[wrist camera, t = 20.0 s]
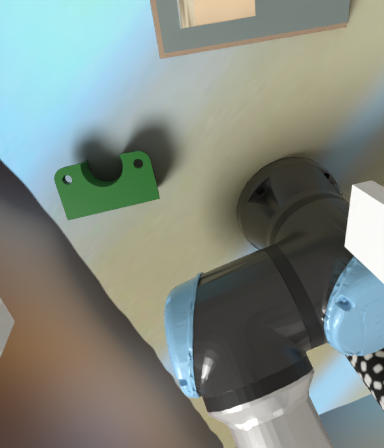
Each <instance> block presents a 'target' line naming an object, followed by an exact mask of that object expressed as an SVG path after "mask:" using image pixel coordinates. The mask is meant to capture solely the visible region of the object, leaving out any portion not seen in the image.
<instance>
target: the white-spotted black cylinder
mask: <svg viewBox="0 0 384 448" xmlns="http://www.w3.org/2000/svg"><path fill="white" fill-rule="evenodd" d="M345 356H346V357H347V359H348V360H349V361H350V363H351V364H352V366H353V367H354V369H355V370H356V372H357V373H358V374H359V376H360V377H361V379H362V380H363V382H364V383H365V384H366V386H367V387H368V389H369V390H370V392H371V393H372V395H373V396H374V397H375V399H376V400H377V402H378V403H379V404H380V406H381V408H382V409H383V410H384V348H383V349H381V350H379V351H376V352H374V353H371V354H368V355H364V356H357V355H355V354H354V355H353V356H348V355H345Z"/></svg>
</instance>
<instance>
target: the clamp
mask: <svg viewBox="0 0 384 448" xmlns="http://www.w3.org/2000/svg"><path fill="white" fill-rule="evenodd" d="M119 156H120V158H121V160H122V164H123V171H122V175H121V176H120V177H119V178H118V179H116V180H114V181H102V180H99V179H97V178H96V177H95V176H94V175H93V174H92V173H91V172H90V170H89V167H88V161H84V162H82V163H79V164H76V165H71V166H67V167H64V168H61V169H59V170H58V171H57V172H56V174H55V178H54V179H55V184H56V187H57V190H58V193H59V195H60V198H61V201H62V204H63V207H64V210H65V213H66V216H67V219H68V220H71V219H75V218H80V217H84V216H88V215H92V214H97V213H101V212H105V211H110V210H114V209H118V208H122V207H127V206H131V205H135V204H139V203H144V202H148V201H152V200H156V199H160V197H159V191H158V187H157V183H156V179H155V176H154V172H153V168H152V164H151V160H150V157H149V156H148V155H147V154H146V153H145V152H143V151H134V152H129V153H127V152H125V153H122V154H120V155H119ZM136 159H141V160H142V161H143V165H142V166H141V167H136V166H135V165H134V161H135V160H136ZM66 175H69V176H71V178H72V183H69V182H67V181H66V179H65V176H66Z"/></svg>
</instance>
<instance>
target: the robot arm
mask: <svg viewBox="0 0 384 448" xmlns="http://www.w3.org/2000/svg"><path fill="white" fill-rule="evenodd" d="M237 219H238V223H239V226H240V228H241V230H242V232H243V234H244V235H245V237H246V238H247V240H248V241H249V242H250V243H251V244H252V245H253V246H254V247H255V248H257V249H259V250H258V251H256V252H253V253H251V254H249V255H246V256H244V257H242V258H239V259H237V260H235V261H232V262H230V263H227V264H225V265H223V266H220V267H218V268H216V269H213V270H211V271H208V272H206V273H199V274H198V275H197V276H196V277H195V278H193V279H191V280H189V281H187V282H185V283H182V284H180V285H178V286H176V287H175V288H173V289H172V290H171V292H170V293H169V295H168V296H167V299H166V303H165V311H164V321H165V333H166V340H167V345H168V350H169V355H170V359H171V363H172V367H173V370H174V373H175V375H176V378H178V380H179V384H180V387H181V389H182V391H183V393H184V394H185V395H187V396H188V397H190V398H191V397H194V398H199V397H201V396H202V397H203V400H204V403H205V406H206V409H207V411H208V414H209V415H210V416H211V417H213V418H215V419H217V420H219V421H221V422H223V423H225V424H226V425H227V426H228V427H229V428H230V430H231V433H232V436H233V438H234V441H235V444H236V447H237V448H333V446H332V443H331V441H330V439H329V437H328V435H327V433H326V431H325V428H324V426H323V424H322V422H321V420H320V418H319V415H318V413H317V411H316V409H315V407H314V405H313V403H312V400H311V398H310V396H309V387H310V384H311V381H312V378H313V374H314V369H313V367H312V365H311V363H310V361H309V359H308V357H307V355H306V351H308V350H311V349H313V348H315V347H318V346H320V345H322V344H325V343H329V344H330V345H331V346H332V347H333V348H334V349H336V350H337V351H339V352H340V353H342V354H345V355H348V356H353V355H354V354H355V355H357V356H364V355H368V354H371V353H374V352H376V351H379V350H381V349H383V348H384V187H383V186H381V185H379V184H377V183H376V182H374V181H372V180H371V181H367V182H362V183H357V184H352V191H351V199H350V203H348V202H347V201H346V200H345V199H344V197H343V195H342V193H341V191H340V189H339V187H338V185H337V183H336V181H335V180H334V178H333V177H332V175H331V174H330V173H329V172H328V171H327V170H326V169H324V168H323V167H321V166H320V165H318V164H317V163H315V162H313V161H311V160H308V159H304V158H286V159H281V160H278V161H276V162H273V163H271V164H269V165H267V166H266V167H264V168H263V169H261V170H260V171H259V172H257V173H256V174H255V175H254V176H253V177H252V178H251V179H250V181H249V182H248V183H247V185H246V186H245V188H244V189H243V191H242V193H241V196H240V198H239V202H238V207H237ZM14 322H15V321H14V320H13V318H12V316H11V315H10V313H9V311H8V310H7V308H6V306H5V305H4V303H3V301H2V300H1V298H0V356H1V354H2V351H3V349H4V347H5V344H6V342H7V339H8V337H9V334H10V332H11V329H12V326H13V324H14Z"/></svg>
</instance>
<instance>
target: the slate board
mask: <svg viewBox="0 0 384 448" xmlns="http://www.w3.org/2000/svg"><path fill="white" fill-rule="evenodd" d="M150 3H151V9H152V15H153V21H154V26H155V32H156V38H157V44H158V50H159V56H160V59H162V58H168V57H174V56H180V55H186V54H191V53H197V52H203V51H209V50H215V49H221V48H226V47H232V46H238V45H244V44H250V43H256V42H262V41H267V40H273V39H279V38H285V37H291V36H297V35H303V34H308V33H314V32H320V31H326V30H332V29H338V28H343V27H347V22H348V16H349V6H350V0H255V16H252V17H246V18H241V19H235V20H230V21H224V22H218V23H212V24H206V25H200V26H194V27H188V28H182V29H180V22H179V14H178V7H177V0H150Z"/></svg>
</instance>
